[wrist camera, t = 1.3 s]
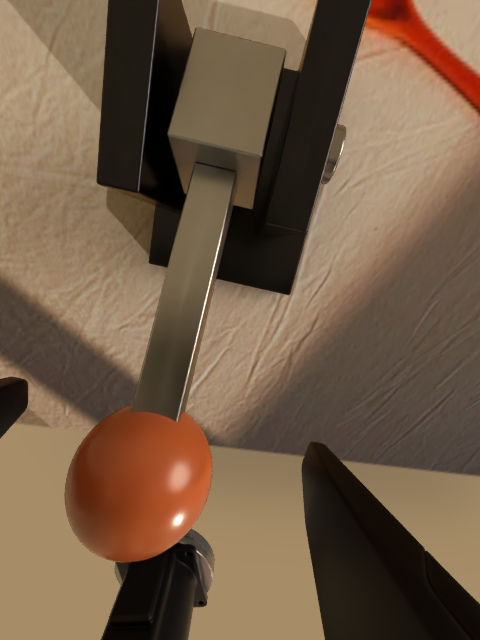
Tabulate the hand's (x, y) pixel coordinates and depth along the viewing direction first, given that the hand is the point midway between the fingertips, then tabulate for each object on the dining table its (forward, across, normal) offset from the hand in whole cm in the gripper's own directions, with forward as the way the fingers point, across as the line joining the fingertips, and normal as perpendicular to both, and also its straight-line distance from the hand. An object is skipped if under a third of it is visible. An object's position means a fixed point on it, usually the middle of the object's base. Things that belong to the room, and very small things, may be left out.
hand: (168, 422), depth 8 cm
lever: (+1, 0, -4) cm, 4 cm away
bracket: (+9, 0, -8) cm, 12 cm away
